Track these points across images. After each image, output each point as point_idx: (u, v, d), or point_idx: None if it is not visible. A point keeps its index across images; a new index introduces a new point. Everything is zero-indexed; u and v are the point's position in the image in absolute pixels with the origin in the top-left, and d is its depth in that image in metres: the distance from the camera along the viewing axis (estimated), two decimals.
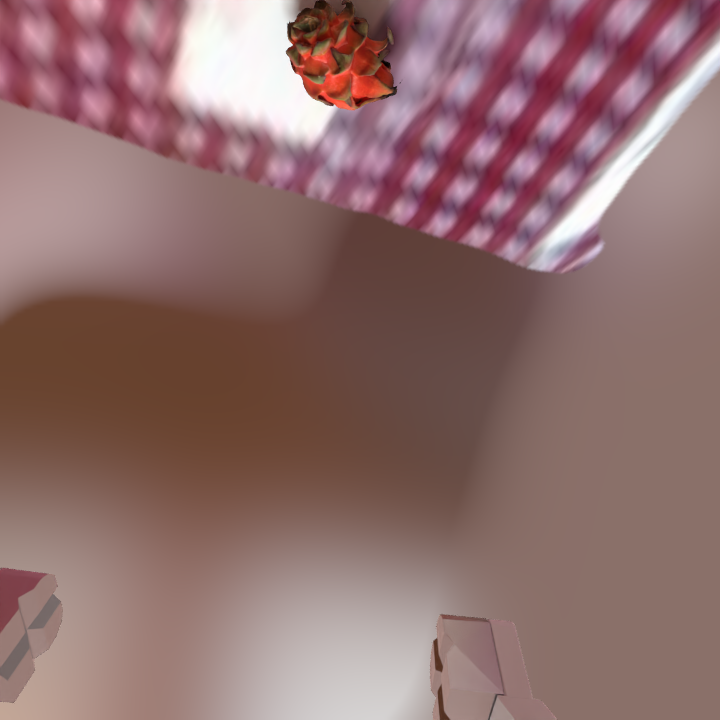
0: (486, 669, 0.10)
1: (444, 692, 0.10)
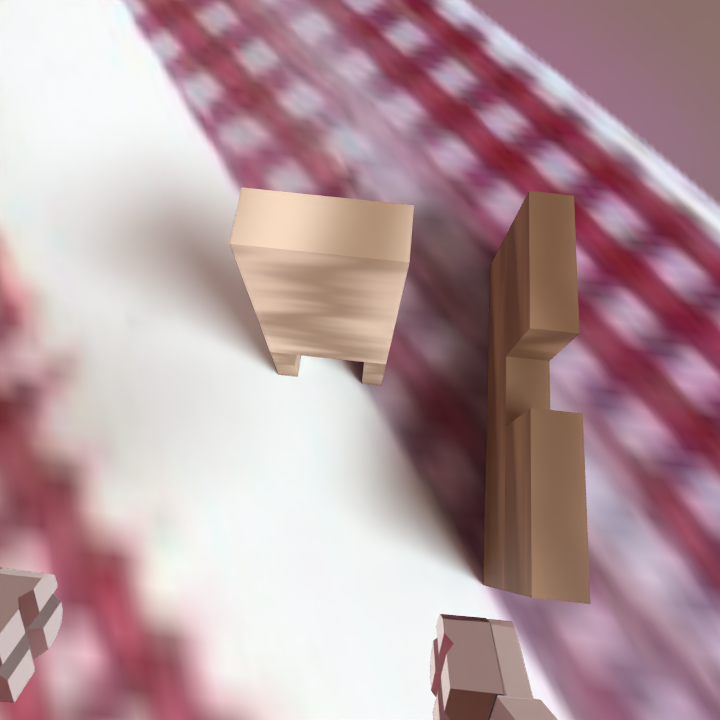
0: (486, 669, 0.10)
1: (444, 692, 0.10)
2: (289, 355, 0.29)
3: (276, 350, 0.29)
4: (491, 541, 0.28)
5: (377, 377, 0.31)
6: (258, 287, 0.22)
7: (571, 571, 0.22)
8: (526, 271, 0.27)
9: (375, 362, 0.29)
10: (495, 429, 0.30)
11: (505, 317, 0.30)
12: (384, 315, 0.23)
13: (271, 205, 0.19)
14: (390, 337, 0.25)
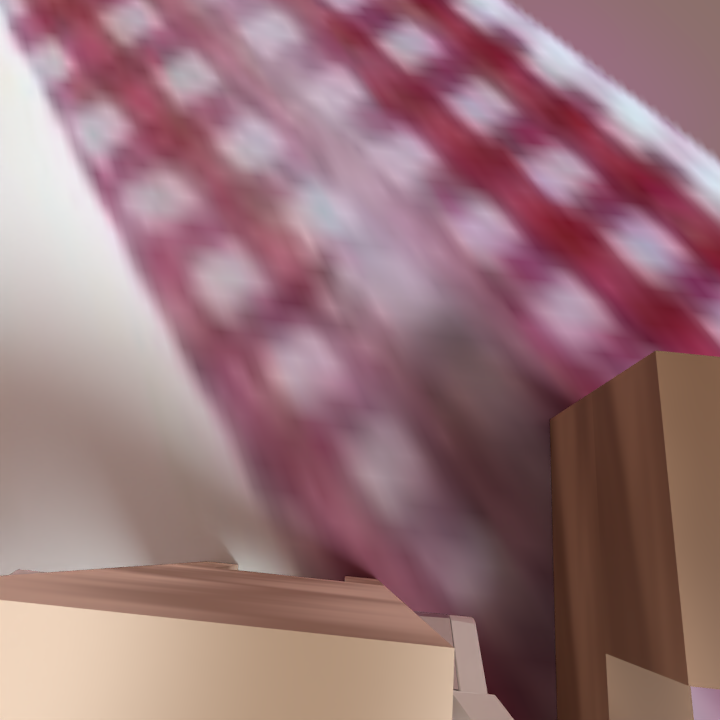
0: None
1: None
2: None
3: None
4: None
5: None
6: None
7: None
8: (662, 526, 0.13)
9: None
10: None
11: (598, 563, 0.17)
12: None
13: None
14: None
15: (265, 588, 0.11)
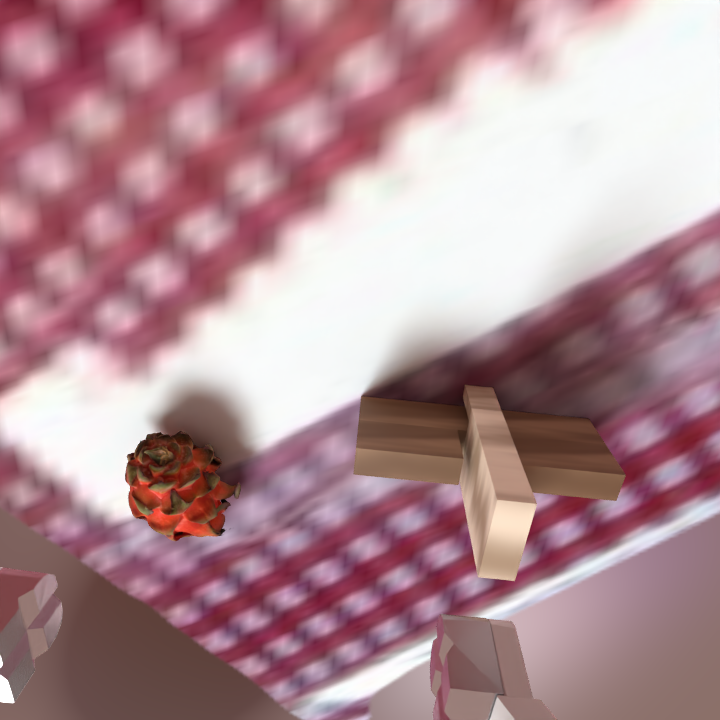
0: (486, 669, 0.10)
1: (444, 692, 0.10)
2: (468, 418, 0.43)
3: (471, 414, 0.42)
4: (386, 407, 0.45)
5: None
6: (486, 474, 0.35)
7: (369, 467, 0.40)
8: (561, 465, 0.40)
9: None
10: (458, 417, 0.45)
11: (536, 436, 0.43)
12: (469, 520, 0.39)
13: (522, 518, 0.33)
14: (464, 503, 0.41)
15: None
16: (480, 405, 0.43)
